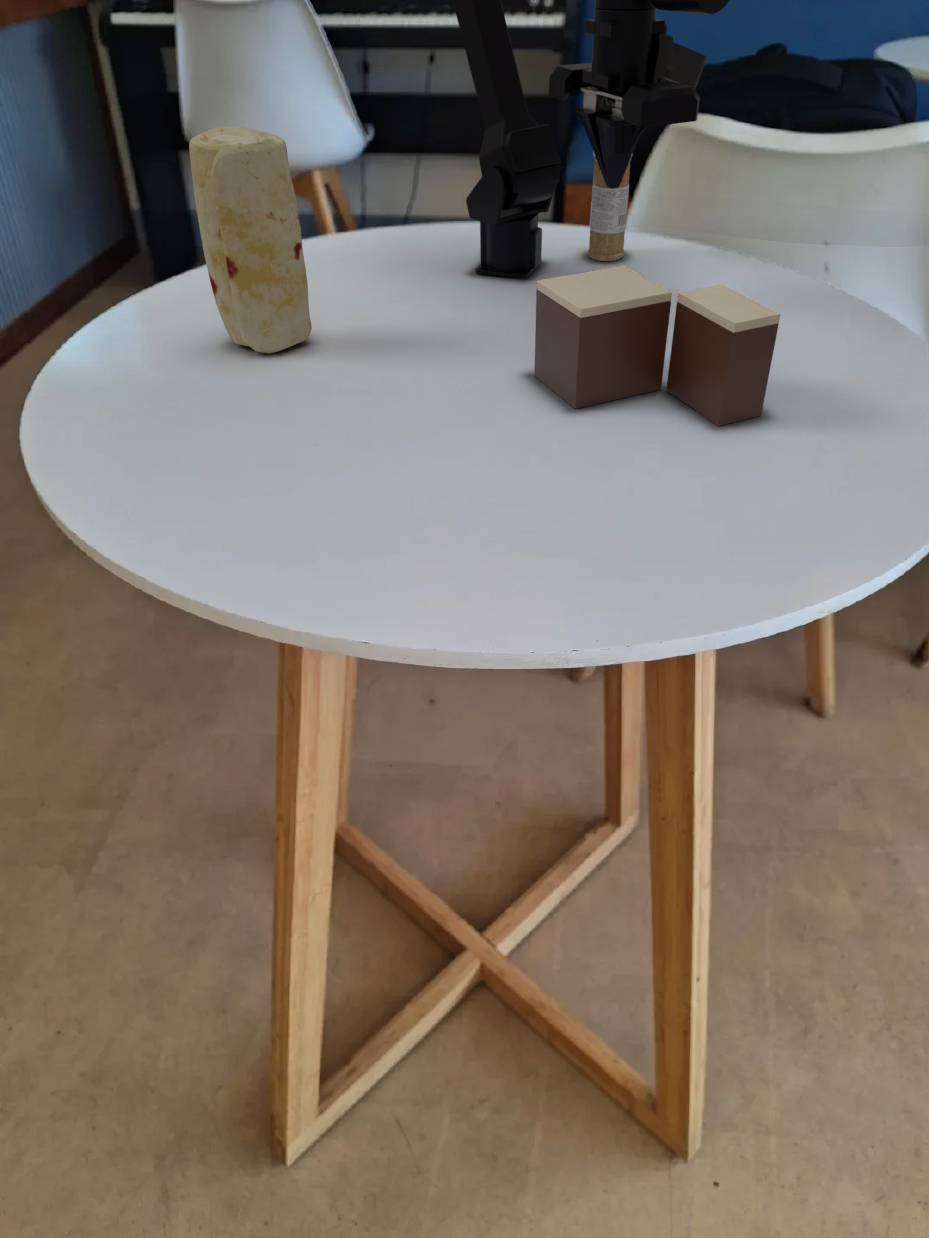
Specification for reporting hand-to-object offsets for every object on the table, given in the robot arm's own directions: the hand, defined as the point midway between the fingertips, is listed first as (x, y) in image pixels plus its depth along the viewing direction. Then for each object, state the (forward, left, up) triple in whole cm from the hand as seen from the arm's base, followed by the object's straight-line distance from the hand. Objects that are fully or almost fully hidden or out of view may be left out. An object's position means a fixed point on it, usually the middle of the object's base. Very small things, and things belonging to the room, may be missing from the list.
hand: (612, 187), depth 96 cm
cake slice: (+15, -21, -12) cm, 29 cm away
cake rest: (+4, -20, -12) cm, 24 cm away
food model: (-30, -22, -12) cm, 39 cm away
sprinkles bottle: (-4, +16, -12) cm, 21 cm away
